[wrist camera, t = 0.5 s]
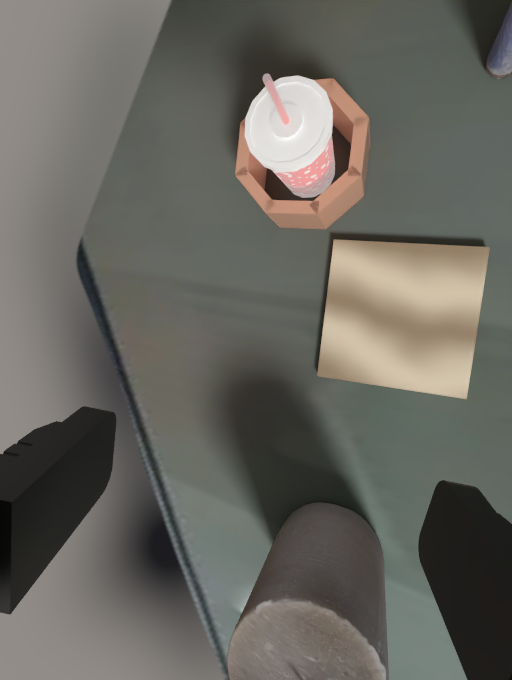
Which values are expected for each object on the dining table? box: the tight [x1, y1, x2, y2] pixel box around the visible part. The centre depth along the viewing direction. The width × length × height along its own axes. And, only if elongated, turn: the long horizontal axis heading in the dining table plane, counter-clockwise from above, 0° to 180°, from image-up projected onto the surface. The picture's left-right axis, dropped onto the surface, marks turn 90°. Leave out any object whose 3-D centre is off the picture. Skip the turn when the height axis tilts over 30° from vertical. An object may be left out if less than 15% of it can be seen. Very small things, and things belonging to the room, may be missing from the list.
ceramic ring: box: [235, 78, 370, 230], centre depth 32 cm, size 10×10×5 cm
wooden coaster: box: [317, 239, 490, 399], centre depth 33 cm, size 12×12×1 cm
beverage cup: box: [245, 73, 335, 198], centre depth 28 cm, size 6×6×14 cm
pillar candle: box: [227, 502, 389, 680], centre depth 29 cm, size 10×10×15 cm
